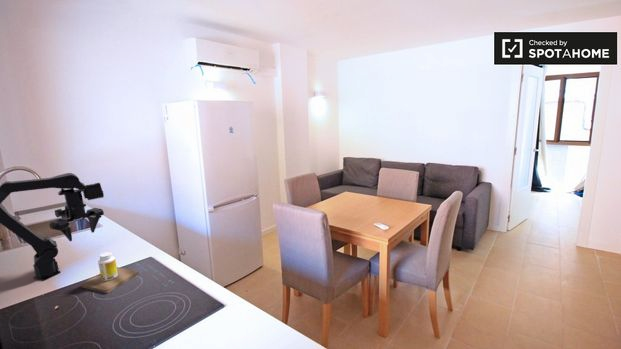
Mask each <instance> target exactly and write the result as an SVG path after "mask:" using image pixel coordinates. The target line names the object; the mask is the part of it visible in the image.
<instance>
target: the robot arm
mask: <svg viewBox="0 0 621 349" xmlns="http://www.w3.org/2000/svg"><path fill="white" fill-rule="evenodd" d="M45 189H46V190H47V189H60V190H59V191H58V192H57V195H58V196H64V200H65V204H66V205H65V206H64V209H62V208H58V209H55V210H54V215H55V217H56V218H59V219H56V220H55V219H54V220H52V221H50V223H49V228H50V229H51V230H56V231H60V232H62V234H63V235H64V236H65V237H66V239H67V240H68V241H69V242H72V241H73V237H72V236H73V235H72V230H71V229H72V228H71V227H70V224H72V223H75V222H77V221H81V220H83V219H87V220H88V223H89V228H90V232H91V233H94V232H95V231H96V227H97V225H98V222H99V221H100V219H101V218H102V216H105V215H104V214H105V212H104V210H103V209H102V208H99V207H93V208H90V209H87V210H86V207H87V204H86V203H84V199H86V200H88V201H92V200H97V199H103V198H105V196H104V191H103V188H102V185H101V183H100V182H95V183H91V184H90V183H89V184H84V182H82V181H80V178H79V177H78V176H77V175H76V174H75V173H71V172H67V173H62V174H58V175H55V176H52V177H44V178H37V179H36V178H34V179H25V180H24V179H23V180H16V181H8V180H7V181H4V182H2V183H1V184H0V224H1V225H2V226H4V228H6V229H7V230H9V231H10V232H12V233H13V234H15V235H16V236H17V237H18V238H20V239H22V240H23V241H24V242H26V243H27V245H30V246H31V247H32V249H33V251H35V254H34V256H33V263H34V264H32V265H33V266H32V267H33V269H34V274H35V275H34V276H33V279H37V280H41V281H46V280H48V279H50V278H52V277H54V276H56V275H58V274H60V273H61V271H60V269H59V264H58V261H56V257H57V256H58V254H59V249H58V243H57V241H56V240H54V239H52V238H51V237H50V236H49V235H46V237H42V236H40V235H38V234H37V233H36V232H34V231H33V230H32V229H31V228H29V227H28V226H27V225H25V224H24V223H23V222H21V221H20V220H19V219H17V217H15V216H14V215H13V214H11V213H9V211H8V210H7V208H6V207H5V206H4V205H3V204H2V203H3V202H4V201H5V200H6V199H7V197H9V196H10V195H11V194H12V193H17V192H26V191H35V190H36V191H37V190H45ZM83 198H84V199H83ZM65 218H66V219H65Z"/></svg>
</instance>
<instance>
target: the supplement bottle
mask: <svg viewBox="0 0 621 349" xmlns="http://www.w3.org/2000/svg"><path fill="white" fill-rule="evenodd" d="M117 267H118V266H117V262H116V257H115V256H113V254H112V252H111V251H106V252H103V253H101V254H99V260H98V269H99V274H101V279H102V280H104V281H108V280H112V279H114V278H116V277H117V275H118V273H117Z"/></svg>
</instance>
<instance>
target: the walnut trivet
mask: <svg viewBox="0 0 621 349" xmlns="http://www.w3.org/2000/svg"><path fill="white" fill-rule="evenodd" d="M116 267H117V273H118V275H117V277H116V278H114V279H112V280H108V281H104V280H102V279H101V274H100V273H98V274H97V275H95V276H93V277H90V278H89V279H87V280H85V281H83V282H82V283H80V288H81V289H82V288H83V289H88V290H92V291H95V292H100V293H104V294H109V293H110V292H112V291H113V290H115V289H117V288H119V287H120V286H122V285H124V284H125V283H127V282H128V281H130V280H131V279H133V278H135V277H137V276H138V275H139V274H140V273H139V271H137V270H133V269H128V268H124V267H123V268H122V267H118V266H116ZM136 275H137V276H136Z"/></svg>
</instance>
